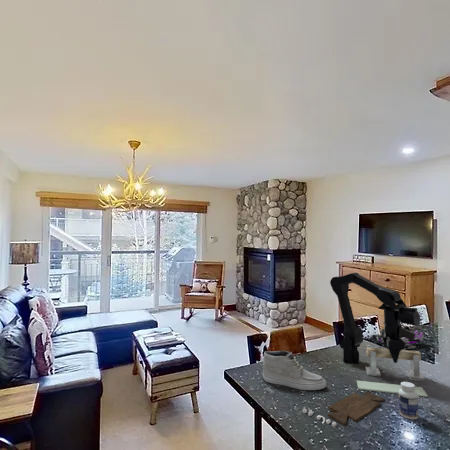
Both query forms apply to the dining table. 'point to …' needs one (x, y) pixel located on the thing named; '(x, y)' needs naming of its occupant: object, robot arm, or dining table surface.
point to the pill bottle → (408, 401)
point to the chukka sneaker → (289, 372)
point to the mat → (386, 388)
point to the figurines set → (319, 417)
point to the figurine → (405, 340)
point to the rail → (386, 354)
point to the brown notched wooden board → (354, 407)
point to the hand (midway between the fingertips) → (393, 358)
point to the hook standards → (412, 374)
